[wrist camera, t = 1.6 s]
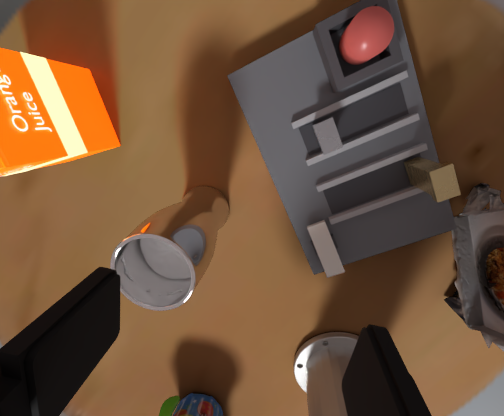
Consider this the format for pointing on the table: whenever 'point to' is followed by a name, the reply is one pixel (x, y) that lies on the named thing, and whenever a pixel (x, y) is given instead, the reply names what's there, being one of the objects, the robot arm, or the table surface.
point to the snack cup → (191, 406)
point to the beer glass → (171, 250)
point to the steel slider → (327, 136)
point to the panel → (344, 139)
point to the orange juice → (48, 113)
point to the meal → (480, 264)
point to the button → (366, 35)
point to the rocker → (325, 248)
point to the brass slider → (433, 178)
